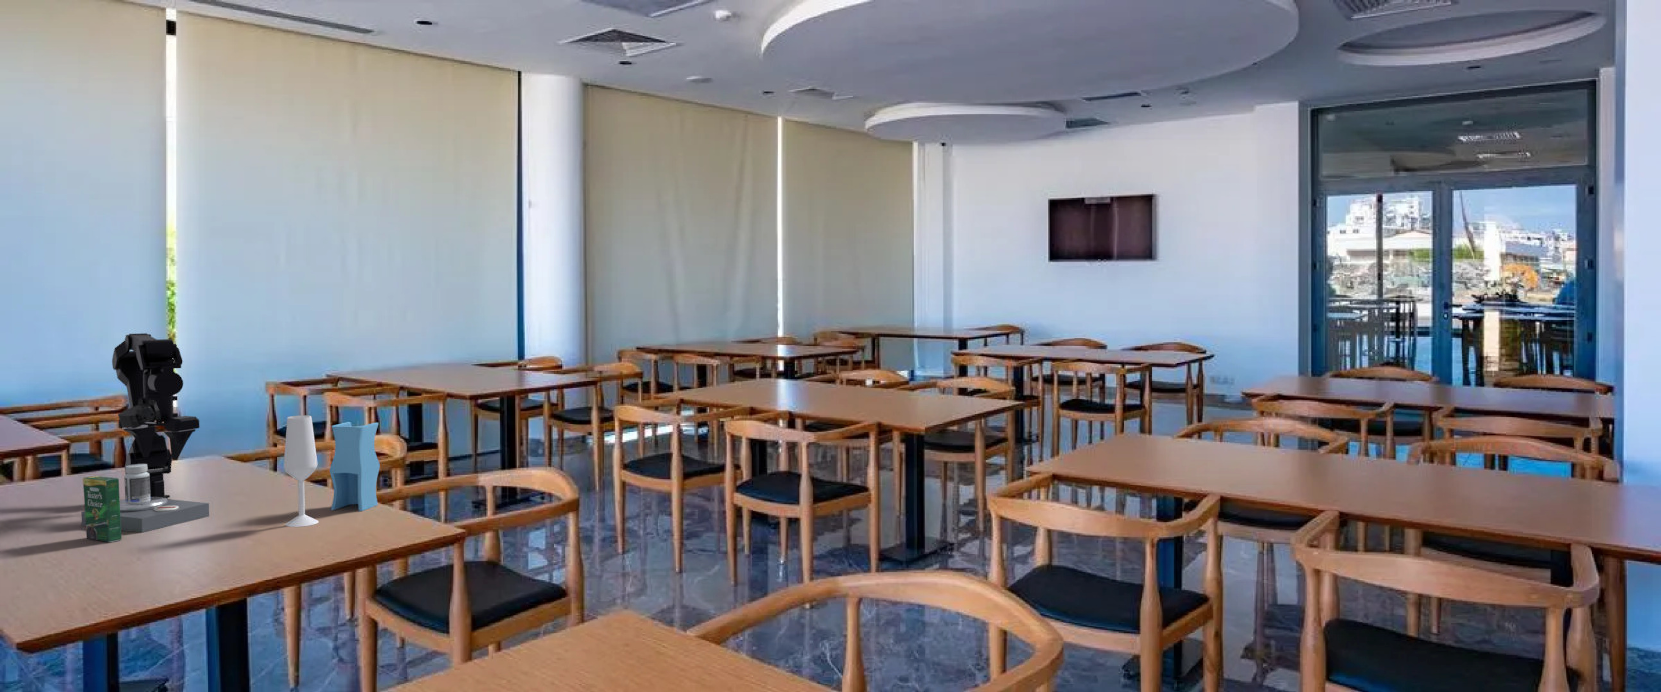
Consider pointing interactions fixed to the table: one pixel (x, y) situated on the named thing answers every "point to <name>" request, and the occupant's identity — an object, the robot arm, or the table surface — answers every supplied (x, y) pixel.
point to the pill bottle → (137, 484)
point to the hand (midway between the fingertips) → (160, 458)
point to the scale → (161, 515)
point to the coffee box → (102, 508)
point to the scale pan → (143, 505)
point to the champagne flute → (300, 461)
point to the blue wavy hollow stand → (354, 466)
